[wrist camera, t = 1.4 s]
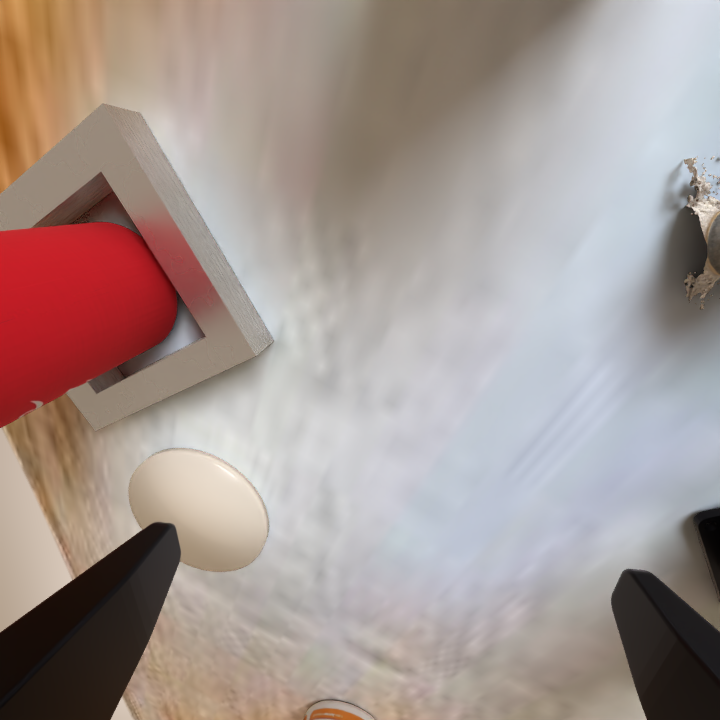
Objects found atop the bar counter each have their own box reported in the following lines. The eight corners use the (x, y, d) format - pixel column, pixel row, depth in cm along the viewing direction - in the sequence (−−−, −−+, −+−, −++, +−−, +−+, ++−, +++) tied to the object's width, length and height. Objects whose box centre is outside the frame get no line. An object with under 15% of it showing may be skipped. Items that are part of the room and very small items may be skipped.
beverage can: (52, 264, 21) (-389, 345, 10) (127, 193, 18) (-337, 196, 8) (132, 364, 22) (-176, 532, 11) (211, 310, 20) (-79, 453, 9)
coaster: (295, 548, 25) (292, 556, 24) (189, 574, 28) (184, 582, 27) (215, 428, 23) (209, 434, 22) (109, 471, 26) (101, 478, 25)
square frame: (273, 341, 20) (256, 355, 18) (122, 412, 24) (95, 431, 22) (139, 112, 17) (102, 103, 15) (-8, 235, 21) (-52, 239, 19)
